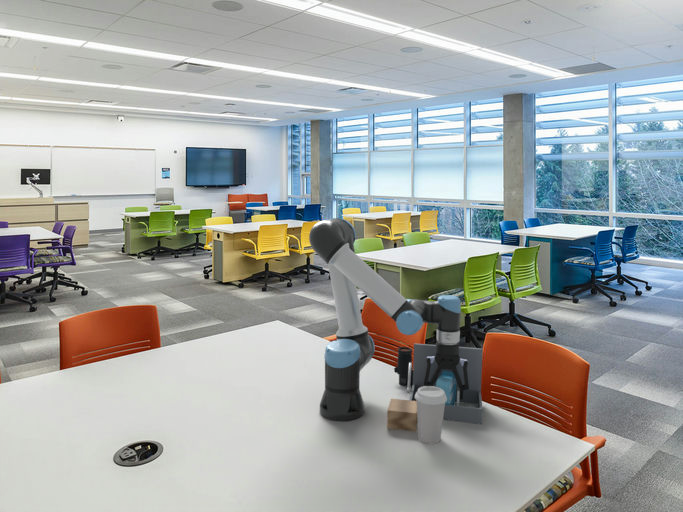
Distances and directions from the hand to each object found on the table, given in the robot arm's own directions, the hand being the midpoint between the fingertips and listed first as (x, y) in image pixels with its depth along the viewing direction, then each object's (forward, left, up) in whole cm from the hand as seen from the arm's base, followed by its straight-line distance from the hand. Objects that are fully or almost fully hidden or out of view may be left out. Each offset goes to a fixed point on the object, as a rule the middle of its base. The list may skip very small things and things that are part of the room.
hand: (445, 406), depth 172 cm
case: (0, 0, -1) cm, 1 cm away
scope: (-15, +20, -1) cm, 25 cm away
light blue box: (0, 0, -1) cm, 1 cm away
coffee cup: (-4, -21, -1) cm, 22 cm away
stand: (-13, -14, -1) cm, 19 cm away
